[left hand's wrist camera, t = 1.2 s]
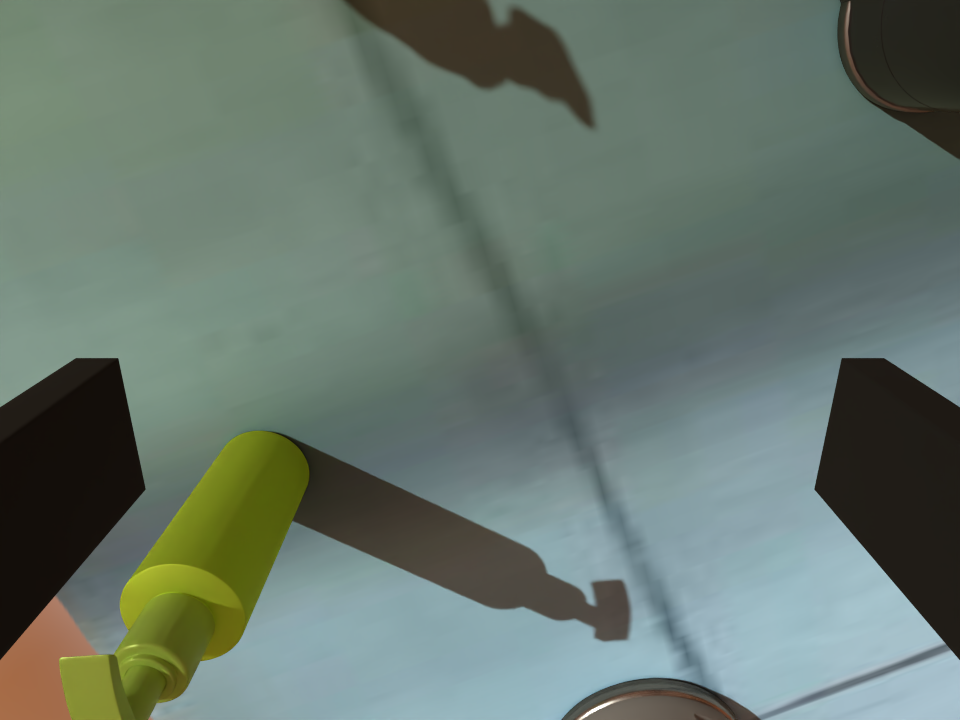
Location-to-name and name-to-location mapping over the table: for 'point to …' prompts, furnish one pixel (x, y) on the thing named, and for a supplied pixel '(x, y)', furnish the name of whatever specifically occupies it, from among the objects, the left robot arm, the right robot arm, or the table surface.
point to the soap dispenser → (195, 581)
